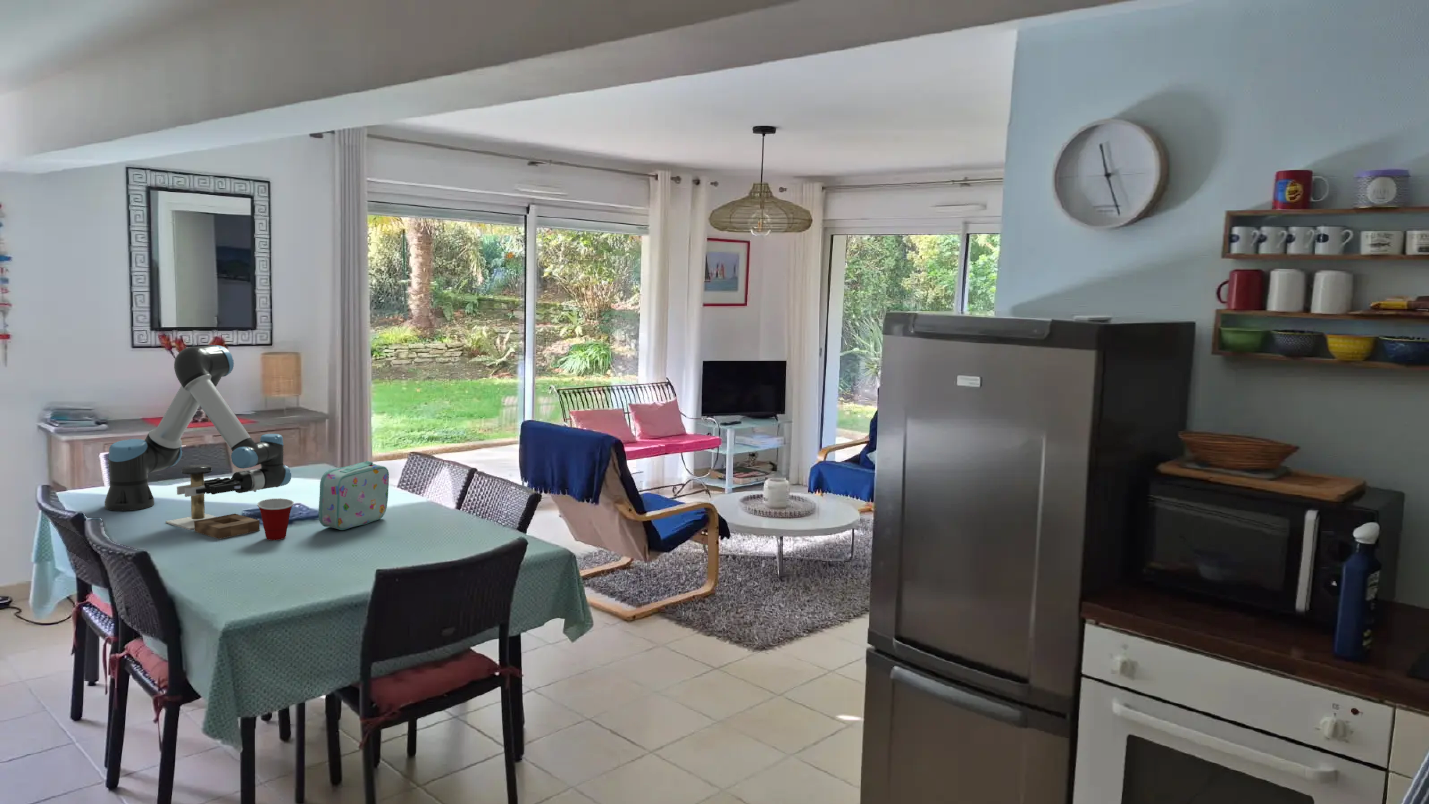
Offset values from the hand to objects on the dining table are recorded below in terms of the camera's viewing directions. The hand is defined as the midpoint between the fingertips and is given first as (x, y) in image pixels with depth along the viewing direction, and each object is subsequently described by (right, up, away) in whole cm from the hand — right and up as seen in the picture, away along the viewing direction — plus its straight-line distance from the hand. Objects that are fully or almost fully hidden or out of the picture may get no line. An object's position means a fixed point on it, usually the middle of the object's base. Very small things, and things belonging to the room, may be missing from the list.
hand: (181, 491), depth 319 cm
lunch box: (+53, -13, +14) cm, 56 cm away
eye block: (+17, -13, -3) cm, 21 cm away
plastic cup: (+36, -15, -8) cm, 39 cm away
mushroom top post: (+2, -9, +6) cm, 11 cm away
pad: (+2, -11, +6) cm, 13 cm away
